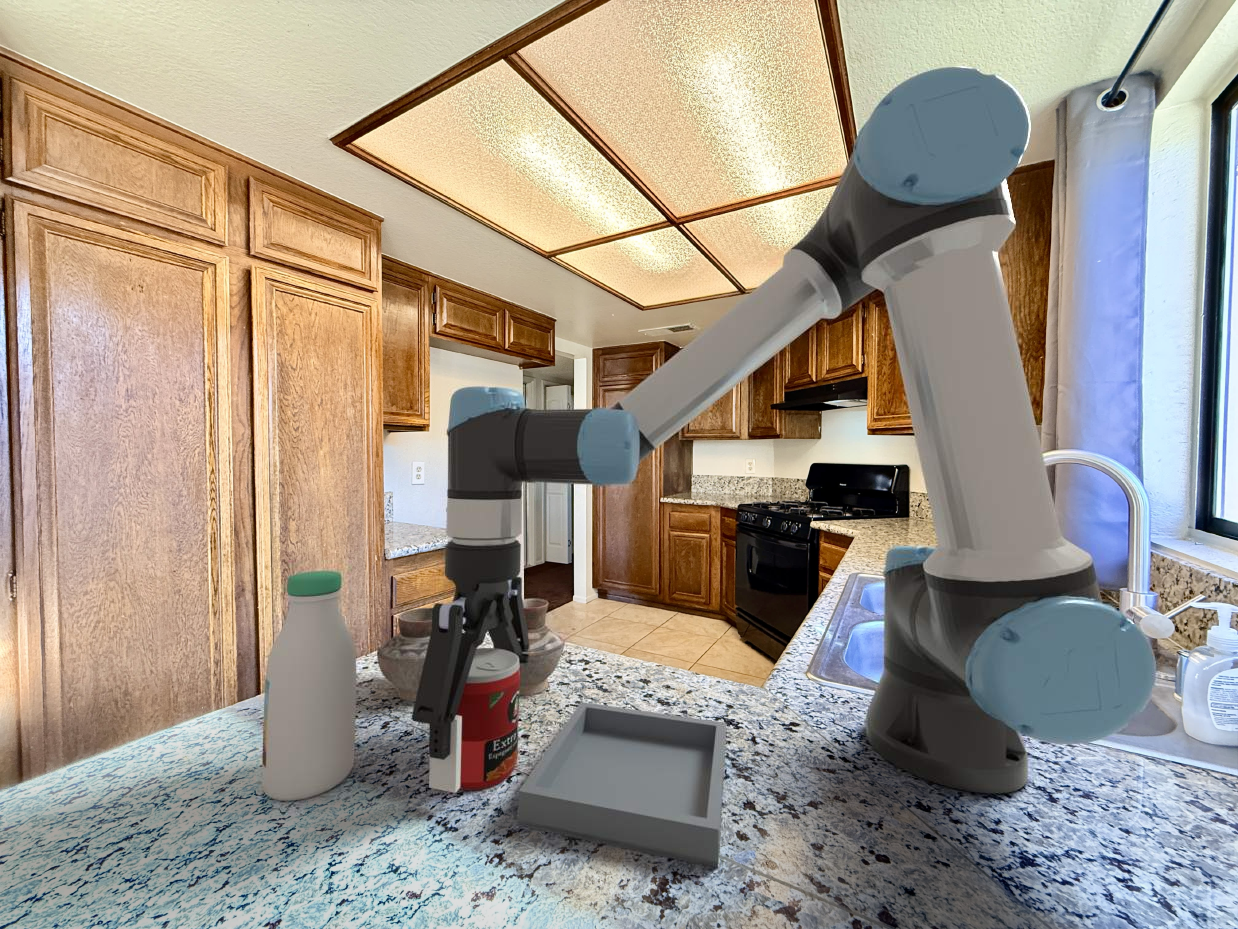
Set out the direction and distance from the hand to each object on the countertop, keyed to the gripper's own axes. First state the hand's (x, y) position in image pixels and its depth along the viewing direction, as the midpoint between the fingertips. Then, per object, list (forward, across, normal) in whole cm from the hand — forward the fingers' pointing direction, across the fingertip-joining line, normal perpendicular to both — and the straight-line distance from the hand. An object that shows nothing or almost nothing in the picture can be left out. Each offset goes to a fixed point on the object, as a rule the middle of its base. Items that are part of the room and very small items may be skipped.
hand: (478, 751), depth 51 cm
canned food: (+2, 0, 0) cm, 2 cm away
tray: (+2, -2, +16) cm, 16 cm away
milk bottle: (+2, +6, -15) cm, 16 cm away
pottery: (+2, -16, -10) cm, 19 cm away
